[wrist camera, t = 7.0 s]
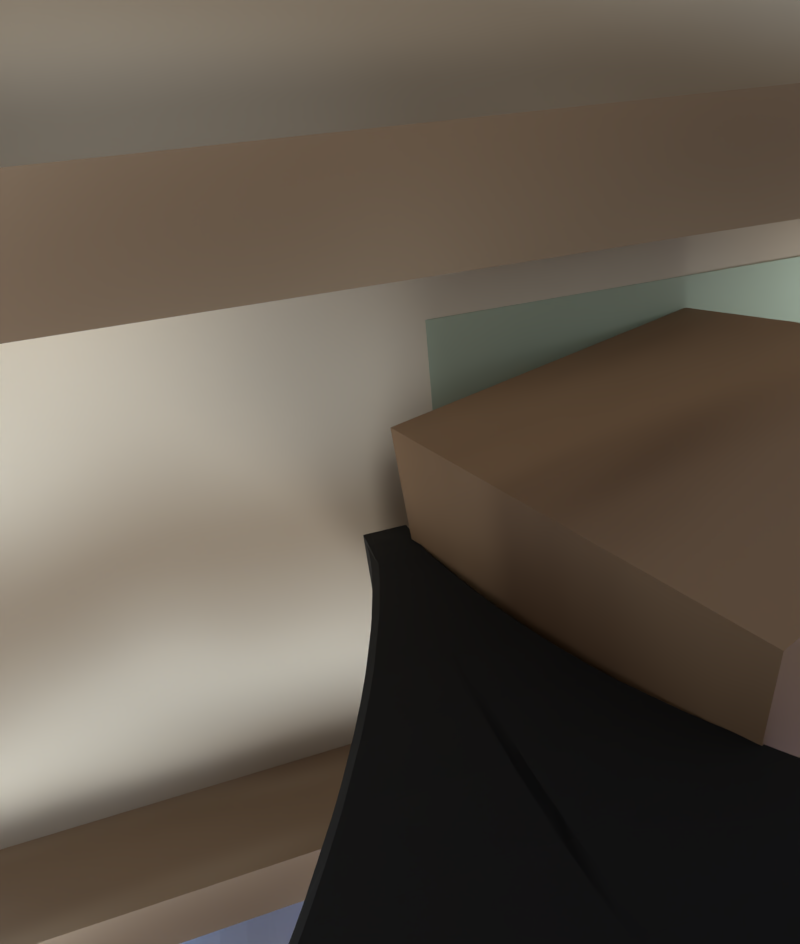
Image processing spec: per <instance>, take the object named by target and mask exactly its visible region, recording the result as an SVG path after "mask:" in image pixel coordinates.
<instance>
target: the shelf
mask: <svg viewBox="0 0 800 944" xmlns="http://www.w3.org/2000/svg"><path fill="white" fill-rule="evenodd" d="M683 308H692V309H700V310H708V311H715V312H723V313H730V314H738V315H746V316H753V317H761V318H769V319H776V320H784V321H791V322H799V323H800V0H0V944H180V943H183V942H186V941H189V940H192V939H195V938H198V937H200V936H203V935H206V934H209V933H212V932H215V931H218V930H221V929H224V928H226V927H229V926H232V925H235V924H238V923H241V922H244V921H247V920H250V919H252V918H255V917H258V916H261V915H264V914H267V913H270V912H273V911H275V910H278V909H281V908H284V907H287V906H290V905H293V904H296V903H299V902H301V901H304V900H305V897H306V894H307V891H308V888H309V885H310V882H311V879H312V876H313V873H314V870H315V867H316V864H317V861H318V858H319V855H320V852H321V849H322V845H323V842H324V839H325V836H326V833H327V830H328V827H329V824H330V821H331V818H332V815H333V811H334V808H335V804H336V801H337V797H338V794H339V790H340V787H341V783H342V779H343V775H344V771H345V767H346V763H347V759H348V755H349V751H350V747H351V743H352V739H353V735H354V731H355V726H356V721H357V716H358V712H359V707H360V702H361V696H362V691H363V685H364V679H365V673H366V665H367V657H368V648H369V640H370V631H371V619H372V585H371V579H370V573H369V567H368V561H367V555H366V549H365V543H364V537H363V535H365V534H369V533H373V532H378V531H382V530H386V529H390V528H394V527H398V526H403V525H407V527H408V528H409V523H408V518H407V512H406V507H405V502H404V497H403V491H402V486H401V481H400V476H399V470H398V465H397V460H396V454H395V449H394V444H393V439H392V433H391V427H393V426H395V425H398V424H400V423H403V422H405V421H408V420H410V419H413V418H415V417H418V416H420V415H422V414H425V413H427V412H430V411H432V410H435V409H437V408H440V407H442V406H445V405H447V404H450V403H452V402H454V401H457V400H459V399H462V398H464V397H467V396H469V395H472V394H474V393H477V392H479V391H481V390H484V389H486V388H489V387H491V386H494V385H496V384H499V383H501V382H504V381H506V380H509V379H511V378H513V377H516V376H518V375H521V374H523V373H526V372H528V371H531V370H533V369H536V368H538V367H540V366H543V365H545V364H548V363H550V362H553V361H555V360H558V359H560V358H563V357H565V356H568V355H570V354H572V353H575V352H577V351H580V350H582V349H585V348H587V347H590V346H592V345H595V344H597V343H599V342H602V341H604V340H607V339H609V338H612V337H614V336H617V335H619V334H622V333H624V332H627V331H629V330H631V329H634V328H636V327H639V326H641V325H644V324H646V323H649V322H651V321H654V320H656V319H658V318H661V317H663V316H666V315H668V314H671V313H673V312H676V311H678V310H681V309H683ZM409 529H410V528H409Z"/></svg>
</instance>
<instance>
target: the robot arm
mask: <svg viewBox="0 0 800 944" xmlns="http://www.w3.org/2000/svg"><path fill="white" fill-rule="evenodd" d="M363 537H364V543H365V549H366V555H367V561H368V567H369V573H370V579H371V585H372V619H371V631H370V640H369V648H368V657H367V665H366V673H365V679H364V685H363V691H362V696H361V702H360V707H359V712H358V716H357V721H356V726H355V731H354V735H353V739H352V743H351V747H350V751H349V755H348V759H347V763H346V767H345V771H344V775H343V779H342V783H341V787H340V790H339V794H338V797H337V801H336V804H335V808H334V811H333V815H332V818H331V821H330V824H329V827H328V830H327V833H326V836H325V839H324V842H323V845H322V849H321V852H320V855H319V858H318V861H317V864H316V867H315V870H314V873H313V876H312V879H311V882H310V885H309V888H308V891H307V894H306V897H305V900H304V901H301V902H299V903H296V904H293V905H290V906H287V907H284V908H281V909H278V910H275V911H273V912H270V913H267V914H264V915H261V916H258V917H255V918H252V919H250V920H247V921H244V922H241V923H238V924H235V925H232V926H229V927H226V928H224V929H221V930H218V931H215V932H212V933H209V934H206V935H203V936H200V937H198V938H195V939H192V940H189V941H186V942H183V943H180V944H800V758H799V757H796V756H794V755H791V754H788V753H786V752H783V751H780V750H777V749H775V748H772V747H770V746H767V745H765V744H764V745H763V746H761V745H759V744H757V743H755V742H753V741H751V740H748V739H746V738H744V737H742V736H740V735H738V734H736V733H734V732H732V731H730V730H727V729H725V728H722V727H720V726H717V725H715V724H712V723H710V722H708V721H705V720H703V719H701V718H698V717H696V716H694V715H692V714H689V713H687V712H685V711H682V710H680V709H678V708H676V707H674V706H672V705H670V704H668V703H665V702H663V701H661V700H659V699H657V698H655V697H653V696H651V695H648V694H646V693H644V692H642V691H640V690H638V689H636V688H634V687H631V686H629V685H627V684H625V683H623V682H621V681H619V680H617V679H615V678H613V677H611V676H609V675H607V674H605V673H604V672H602V671H600V670H598V669H596V668H594V667H592V666H590V665H589V664H587V663H585V662H583V661H582V660H580V659H578V658H576V657H575V656H573V655H571V654H570V653H568V652H566V651H564V650H563V649H561V648H559V647H558V646H556V645H554V644H553V643H551V642H549V641H548V640H546V639H545V638H543V637H541V636H540V635H538V634H537V633H535V632H534V631H532V630H531V629H529V628H528V627H526V626H525V625H523V624H522V623H520V622H519V621H517V620H516V619H514V618H513V617H511V616H510V615H508V614H507V613H506V612H504V611H503V610H501V609H500V608H499V607H497V606H496V605H494V604H493V603H492V602H490V601H489V600H488V599H486V598H485V597H484V596H482V595H481V594H480V593H478V592H477V591H476V590H475V589H473V588H472V587H471V586H469V585H468V584H467V583H466V582H464V581H463V580H462V579H460V578H459V577H458V576H457V575H455V574H454V573H453V572H452V571H451V570H449V569H448V568H447V567H446V566H445V565H443V564H442V563H441V562H440V561H439V560H437V559H436V558H435V557H434V556H432V555H431V554H430V553H429V552H427V551H426V550H425V549H424V548H423V546H422V545H421V544H419V543H417V542H415V541H414V540H412V539H411V533H410V529H409V528H408V527H407V525H403V526H398V527H394V528H390V529H386V530H382V531H378V532H373V533H369V534H365V535H363Z"/></svg>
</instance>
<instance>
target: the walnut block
mask: <svg viewBox="0 0 800 944" xmlns="http://www.w3.org/2000/svg"><path fill="white" fill-rule="evenodd" d="M391 433H392V439H393V444H394V449H395V454H396V460H397V465H398V470H399V476H400V481H401V486H402V491H403V497H404V502H405V507H406V512H407V518H408V523H409V528H410V533H411V539H412V540H414V541H415V542H417V543H419V544H421V545H422V546H423V548H424V549H425V550H426V551H427V552H429V553H430V554H431V555H432V556H434V557H435V558H436V559H437V560H439V561H440V562H441V563H442V564H443V565H445V566H446V567H447V568H448V569H449V570H451V571H452V572H453V573H454V574H455V575H457V576H458V577H459V578H460V579H462V580H463V581H464V582H466V583H467V584H468V585H469V586H471V587H472V588H473V589H475V590H476V591H477V592H478V593H480V594H481V595H482V596H484V597H485V598H486V599H488V600H489V601H490V602H492V603H493V604H494V605H496V606H497V607H499V608H500V609H501V610H503V611H504V612H506V613H507V614H508V615H510V616H511V617H513V618H514V619H516V620H517V621H519V622H520V623H522V624H523V625H525V626H526V627H528V628H529V629H531V630H532V631H534V632H535V633H537V634H538V635H540V636H541V637H543V638H545V639H546V640H548V641H549V642H551V643H553V644H554V645H556V646H558V647H559V648H561V649H563V650H564V651H566V652H568V653H570V654H571V655H573V656H575V657H576V658H578V659H580V660H582V661H583V662H585V663H587V664H589V665H590V666H592V667H594V668H596V669H598V670H600V671H602V672H604V673H605V674H607V675H609V676H611V677H613V678H615V679H617V680H619V681H621V682H623V683H625V684H627V685H629V686H631V687H634V688H636V689H638V690H640V691H642V692H644V693H646V694H648V695H651V696H653V697H655V698H657V699H659V700H661V701H663V702H665V703H668V704H670V705H672V706H674V707H676V708H678V709H680V710H682V711H685V712H687V713H689V714H692V715H694V716H696V717H698V718H701V719H703V720H705V721H708V722H710V723H712V724H715V725H717V726H720V727H722V728H725V729H727V730H730V731H732V732H734V733H736V734H738V735H740V736H742V737H744V738H746V739H748V740H751V741H753V742H755V743H757V744H759V745H761V746H763V745H764V744H765V745H767V746H770V747H772V748H775V749H777V750H780V751H783V752H786V753H788V754H791V755H794V756H796V757H799V758H800V323H799V322H791V321H784V320H776V319H769V318H761V317H753V316H746V315H738V314H730V313H723V312H715V311H708V310H700V309H692V308H683V309H681V310H678V311H676V312H673V313H671V314H668V315H666V316H663V317H661V318H658V319H656V320H654V321H651V322H649V323H646V324H644V325H641V326H639V327H636V328H634V329H631V330H629V331H627V332H624V333H622V334H619V335H617V336H614V337H612V338H609V339H607V340H604V341H602V342H599V343H597V344H595V345H592V346H590V347H587V348H585V349H582V350H580V351H577V352H575V353H572V354H570V355H568V356H565V357H563V358H560V359H558V360H555V361H553V362H550V363H548V364H545V365H543V366H540V367H538V368H536V369H533V370H531V371H528V372H526V373H523V374H521V375H518V376H516V377H513V378H511V379H509V380H506V381H504V382H501V383H499V384H496V385H494V386H491V387H489V388H486V389H484V390H481V391H479V392H477V393H474V394H472V395H469V396H467V397H464V398H462V399H459V400H457V401H454V402H452V403H450V404H447V405H445V406H442V407H440V408H437V409H435V410H432V411H430V412H427V413H425V414H422V415H420V416H418V417H415V418H413V419H410V420H408V421H405V422H403V423H400V424H398V425H395V426H393V427H391Z"/></svg>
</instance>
